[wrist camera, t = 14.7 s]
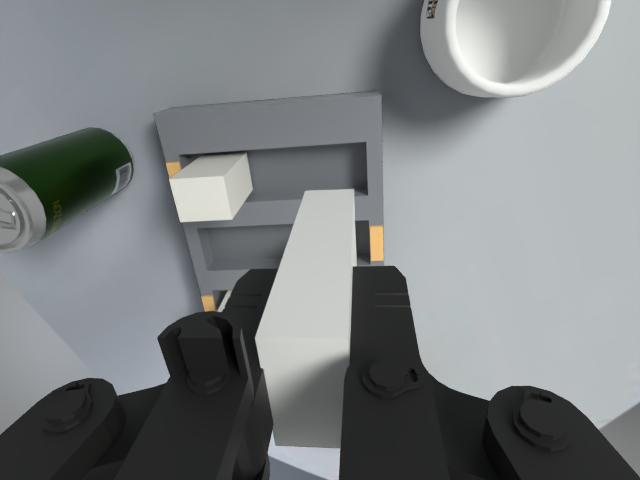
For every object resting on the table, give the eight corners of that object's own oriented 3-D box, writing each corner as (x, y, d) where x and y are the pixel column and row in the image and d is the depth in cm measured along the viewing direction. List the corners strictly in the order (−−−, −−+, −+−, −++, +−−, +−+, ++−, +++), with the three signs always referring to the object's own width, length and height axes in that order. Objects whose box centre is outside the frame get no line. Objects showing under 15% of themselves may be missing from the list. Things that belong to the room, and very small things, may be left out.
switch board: (170, 107, 30) (151, 114, 28) (378, 90, 29) (381, 95, 26) (225, 331, 40) (215, 353, 37) (383, 328, 38) (385, 351, 36)
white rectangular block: (201, 155, 30) (168, 179, 25) (246, 152, 30) (223, 175, 25) (209, 191, 32) (180, 222, 26) (252, 189, 31) (232, 219, 26)
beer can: (138, 134, 32) (28, 181, 21) (137, 195, 34) (38, 265, 23) (72, 118, 31) (-74, 157, 21) (76, 180, 34) (-52, 244, 23)
